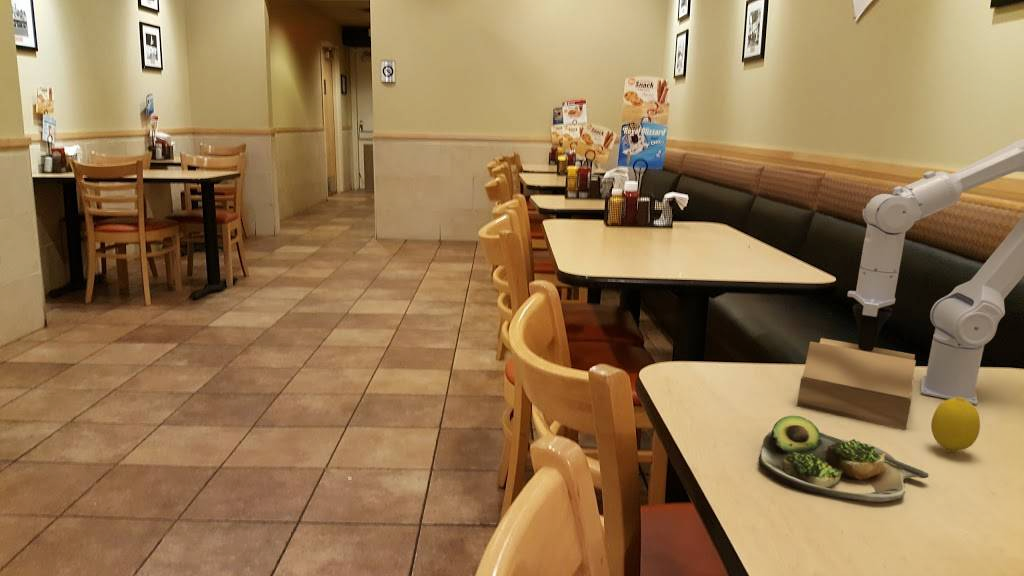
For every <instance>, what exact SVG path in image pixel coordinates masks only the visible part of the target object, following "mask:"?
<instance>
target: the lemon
mask: <svg viewBox="0 0 1024 576" xmlns="http://www.w3.org/2000/svg"><path fill="white" fill-rule="evenodd" d="M930 425H931V427H930V428H931V434H932V436H933V438H934V440H935V441H936V443H938V444H939V445H940V446H941V447H943V448H944V449H945V450H946V452H947V453H950V454H954V453H955V452H958V451H963V450H966V449H969V448H970V447H971V446H972V445H973V444H974V443H975V442H976V441H977V439H978V437H979V434H980V430H981V420H980V414H979V412H978V409H976V407H975V406H974V404H971V403H969V402H968V401H966V400H965V399H964V398H963V397H957V398H953V399H946V400H944V401H943V402H941V403H940V404H939V405H938V406H937V408H936V409H935V411H934V413H933V416H932V418H931V424H930Z"/></svg>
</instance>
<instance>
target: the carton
mask: <svg viewBox="0 0 1024 576" xmlns="http://www.w3.org/2000/svg"><path fill="white" fill-rule="evenodd" d="M913 387H914V376H913V380H912V386H911V392H910V397H909V398H904V397H899V396H894V395H889V394H884V393H879V392H874V391H869V390H864V389H859V388H854V387H849V386H844V385H839V384H834V383H829V382H825V381H820V380H815V379H810V378H805V377H803V375H801V378H800V383H799V389H798V394H797V395H798V397H797V404H796V406H797V407H802V408H805V409H809V410H814V411H819V412H822V413H823V412H824V413H828V414H833V415H837V416H841V417H846V418H851V419H855V420H859V421H865V422H869V423H872V424H878V425H882V426H886V427H892V428H895V429H900V430H905V431H906V430H907V426H908V421H909V420H908V419H909V414H910V411H911V405H912V404H911V403H912V396H913Z"/></svg>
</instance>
